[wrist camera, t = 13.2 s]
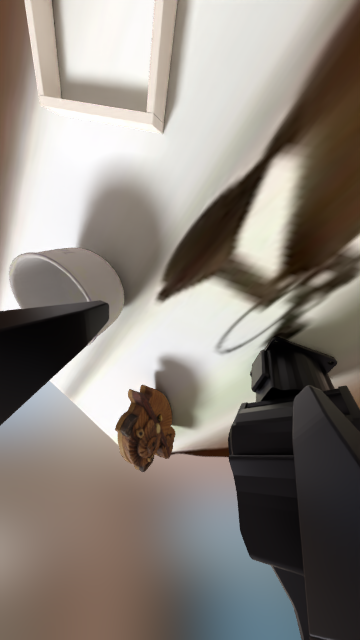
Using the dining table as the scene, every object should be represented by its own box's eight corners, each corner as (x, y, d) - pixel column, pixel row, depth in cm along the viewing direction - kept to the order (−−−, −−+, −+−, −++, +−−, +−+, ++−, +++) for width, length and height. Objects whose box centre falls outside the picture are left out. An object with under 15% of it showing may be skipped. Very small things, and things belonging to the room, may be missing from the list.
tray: (196, -170, 9) (185, -244, 8) (162, 134, 15) (152, 124, 14) (29, -142, 11) (-4, -196, 10) (58, 115, 17) (39, 105, 16)
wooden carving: (187, 433, 35) (166, 498, 27) (167, 430, 37) (142, 489, 29) (159, 368, 29) (121, 425, 21) (137, 368, 31) (94, 420, 23)
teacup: (99, 224, 21) (28, 226, 15) (151, 301, 24) (111, 332, 17) (52, 280, 29) (-9, 299, 22) (96, 335, 31) (53, 365, 24)
